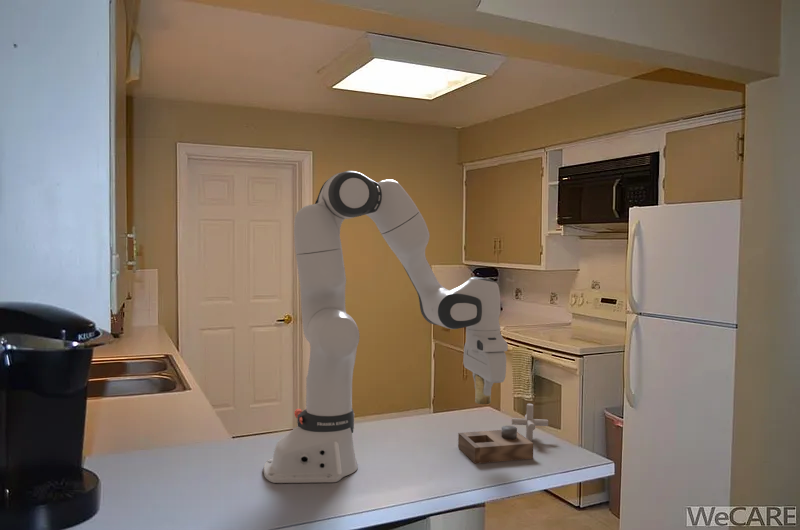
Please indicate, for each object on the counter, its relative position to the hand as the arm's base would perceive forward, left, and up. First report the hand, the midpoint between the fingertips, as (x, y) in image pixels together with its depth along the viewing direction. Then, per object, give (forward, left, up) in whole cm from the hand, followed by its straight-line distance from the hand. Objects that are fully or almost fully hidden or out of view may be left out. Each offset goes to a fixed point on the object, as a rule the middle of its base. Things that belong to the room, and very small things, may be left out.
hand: (482, 392), depth 157 cm
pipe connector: (+18, +8, -17) cm, 26 cm away
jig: (+4, 0, -16) cm, 17 cm away
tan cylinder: (0, 0, -3) cm, 3 cm away
